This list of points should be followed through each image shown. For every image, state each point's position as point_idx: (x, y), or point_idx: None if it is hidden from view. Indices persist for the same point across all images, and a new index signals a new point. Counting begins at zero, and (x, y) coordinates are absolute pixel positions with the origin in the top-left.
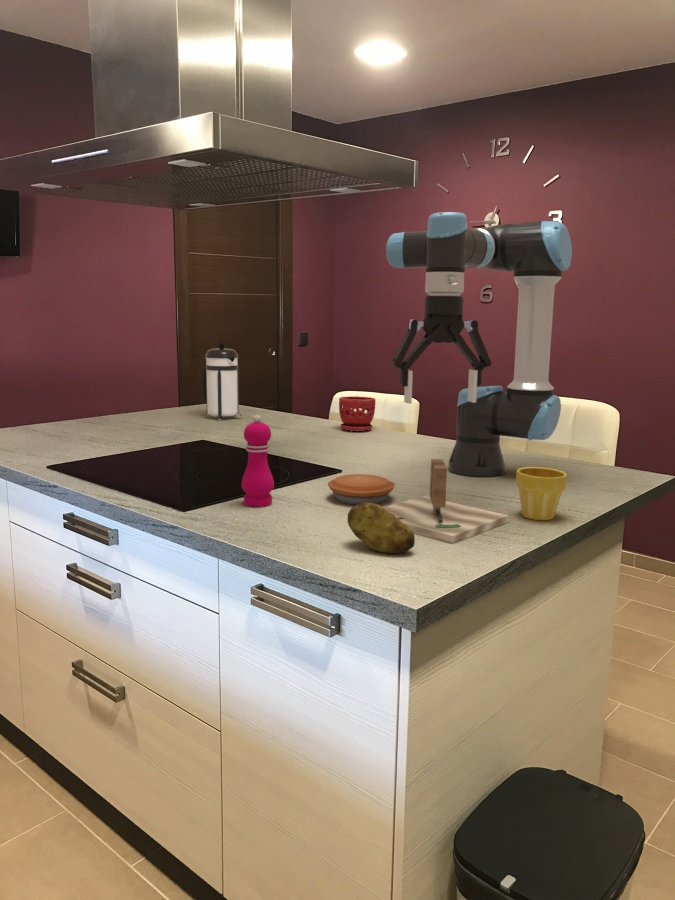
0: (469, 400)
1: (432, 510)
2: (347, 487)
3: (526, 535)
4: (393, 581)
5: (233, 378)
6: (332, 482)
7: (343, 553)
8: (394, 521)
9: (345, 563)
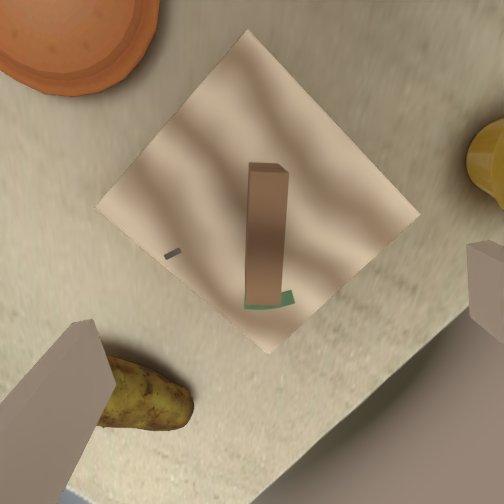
0: (470, 275)
1: None
2: (17, 64)
3: (419, 294)
4: (160, 494)
5: None
6: None
7: None
8: (150, 419)
9: None
